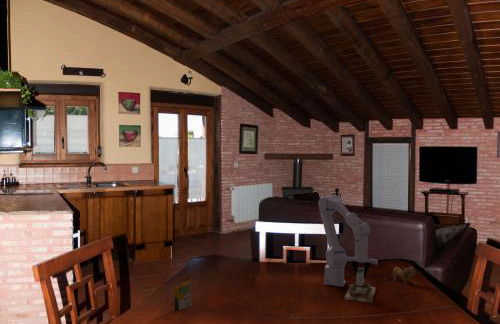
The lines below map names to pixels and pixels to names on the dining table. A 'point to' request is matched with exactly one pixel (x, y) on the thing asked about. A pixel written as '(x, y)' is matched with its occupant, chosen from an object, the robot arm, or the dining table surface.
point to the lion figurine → (404, 273)
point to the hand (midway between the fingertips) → (360, 277)
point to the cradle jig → (360, 293)
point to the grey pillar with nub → (360, 277)
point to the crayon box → (182, 295)
